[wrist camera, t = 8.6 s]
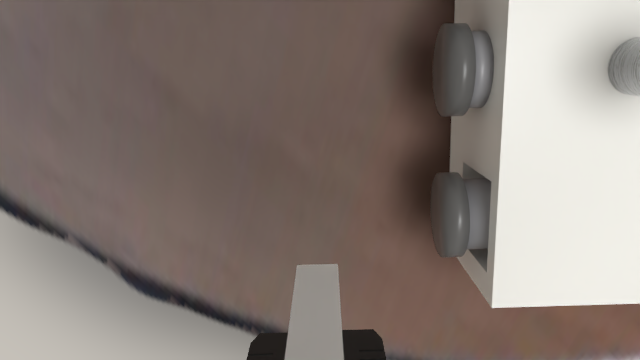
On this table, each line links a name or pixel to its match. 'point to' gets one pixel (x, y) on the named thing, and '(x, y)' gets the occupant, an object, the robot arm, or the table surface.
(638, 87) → the test tube
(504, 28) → the white knob control box
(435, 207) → the knob
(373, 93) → the table surface
